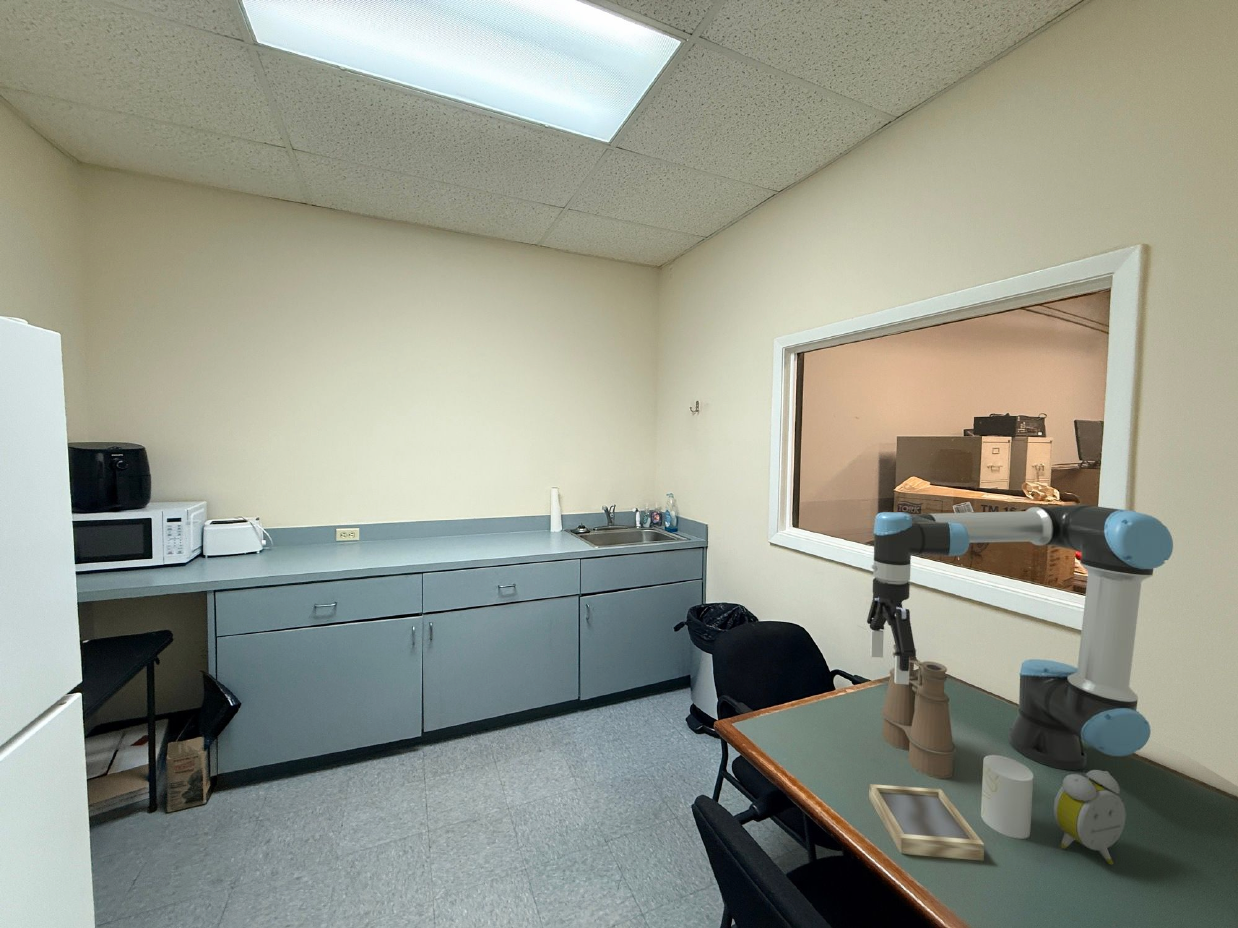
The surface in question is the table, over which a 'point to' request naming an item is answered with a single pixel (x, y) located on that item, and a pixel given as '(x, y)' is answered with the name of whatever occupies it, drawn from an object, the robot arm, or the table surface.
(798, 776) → the table surface
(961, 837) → the square picture frame
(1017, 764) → the white cylinder
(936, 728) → the binoculars
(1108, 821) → the alarm clock
